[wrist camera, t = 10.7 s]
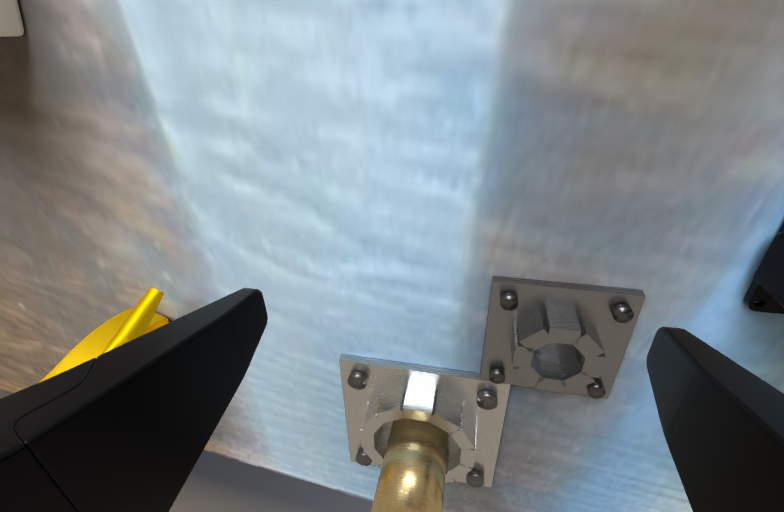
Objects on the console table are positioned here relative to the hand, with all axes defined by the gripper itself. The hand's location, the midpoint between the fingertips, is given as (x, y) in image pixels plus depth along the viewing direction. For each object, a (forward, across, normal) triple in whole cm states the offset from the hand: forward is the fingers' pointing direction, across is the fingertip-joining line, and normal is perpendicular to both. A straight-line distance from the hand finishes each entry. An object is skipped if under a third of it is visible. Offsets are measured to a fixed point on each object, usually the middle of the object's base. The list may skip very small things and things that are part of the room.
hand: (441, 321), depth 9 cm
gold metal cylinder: (+12, +2, +21) cm, 24 cm away
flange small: (+13, -6, +11) cm, 18 cm away
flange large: (+13, +2, +21) cm, 25 cm away
